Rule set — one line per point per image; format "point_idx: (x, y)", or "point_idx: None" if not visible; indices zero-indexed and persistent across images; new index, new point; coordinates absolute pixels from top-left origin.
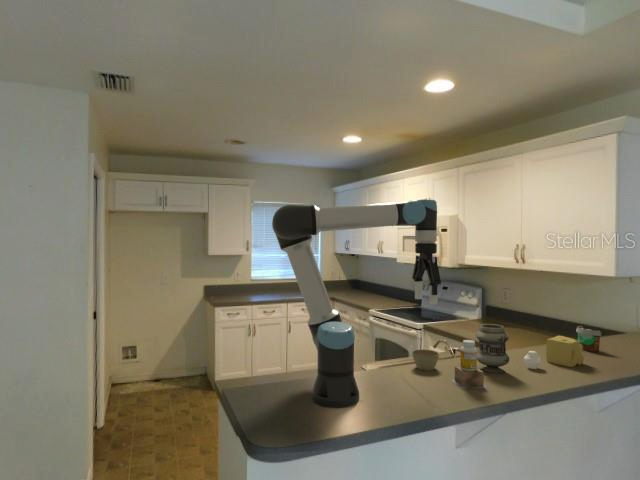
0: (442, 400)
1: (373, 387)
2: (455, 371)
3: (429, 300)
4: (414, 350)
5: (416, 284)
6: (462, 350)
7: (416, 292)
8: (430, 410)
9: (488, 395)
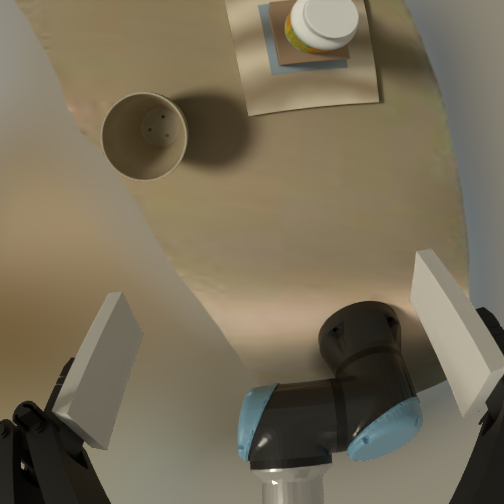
0: (398, 141)
1: (307, 273)
2: (286, 64)
3: (423, 318)
4: (120, 172)
5: (109, 425)
6: (336, 48)
7: (128, 368)
8: (440, 186)
9: (368, 16)
